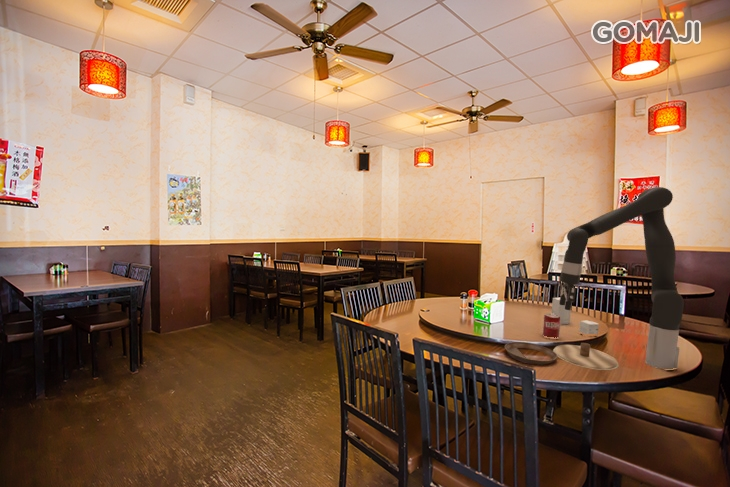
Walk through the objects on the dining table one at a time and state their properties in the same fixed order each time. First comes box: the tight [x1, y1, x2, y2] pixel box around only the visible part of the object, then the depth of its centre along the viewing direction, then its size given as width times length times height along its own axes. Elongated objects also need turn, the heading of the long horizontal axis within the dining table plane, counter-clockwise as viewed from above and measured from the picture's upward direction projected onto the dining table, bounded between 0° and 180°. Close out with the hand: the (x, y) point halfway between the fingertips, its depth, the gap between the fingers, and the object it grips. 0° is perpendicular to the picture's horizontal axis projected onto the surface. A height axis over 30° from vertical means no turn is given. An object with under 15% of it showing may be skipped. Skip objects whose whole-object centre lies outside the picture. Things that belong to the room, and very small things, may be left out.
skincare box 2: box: [578, 319, 600, 334], centre depth 175 cm, size 6×6×7 cm
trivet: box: [552, 347, 619, 371], centre depth 147 cm, size 24×24×1 cm
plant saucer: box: [504, 341, 557, 366], centre depth 147 cm, size 21×21×3 cm
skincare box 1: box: [551, 296, 572, 326], centre depth 194 cm, size 8×6×15 cm
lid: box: [554, 342, 618, 370], centre depth 147 cm, size 23×23×6 cm
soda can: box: [542, 312, 561, 338], centre depth 170 cm, size 7×7×12 cm
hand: (564, 307), depth 152 cm, fingers open, 8 cm apart
